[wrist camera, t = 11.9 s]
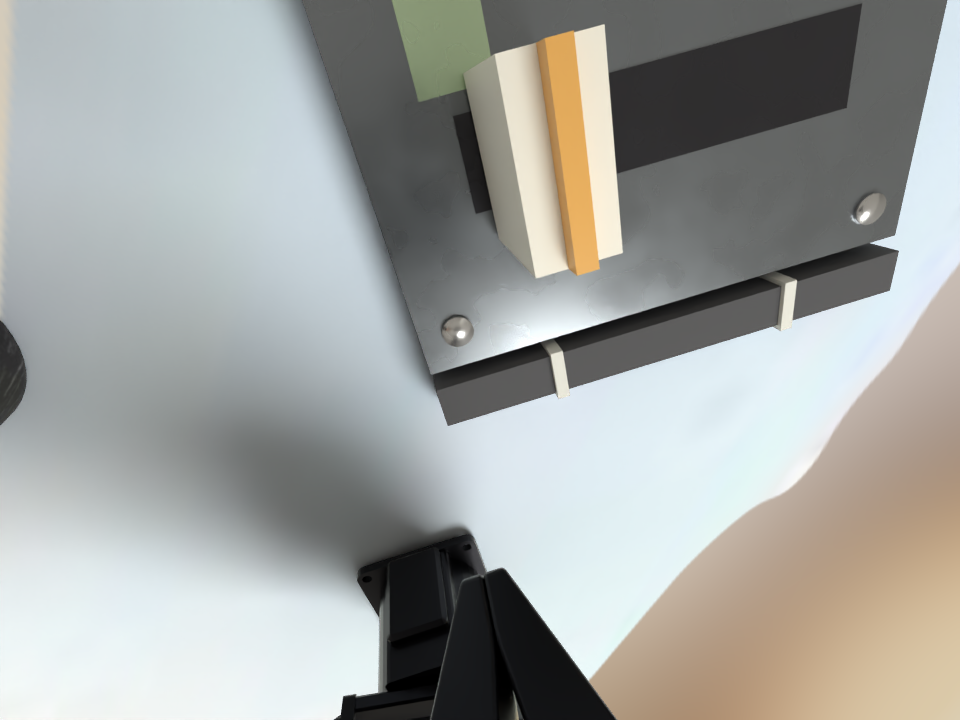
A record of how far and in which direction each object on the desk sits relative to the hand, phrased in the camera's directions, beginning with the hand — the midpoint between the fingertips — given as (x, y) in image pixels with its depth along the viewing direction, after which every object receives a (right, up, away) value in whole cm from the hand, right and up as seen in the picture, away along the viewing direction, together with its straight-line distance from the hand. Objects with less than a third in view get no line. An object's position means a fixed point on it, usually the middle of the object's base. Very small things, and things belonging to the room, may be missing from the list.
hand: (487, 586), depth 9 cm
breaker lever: (+1, +11, +6) cm, 13 cm away
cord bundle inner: (+8, +6, +12) cm, 15 cm away
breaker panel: (+6, +13, +8) cm, 16 cm away
